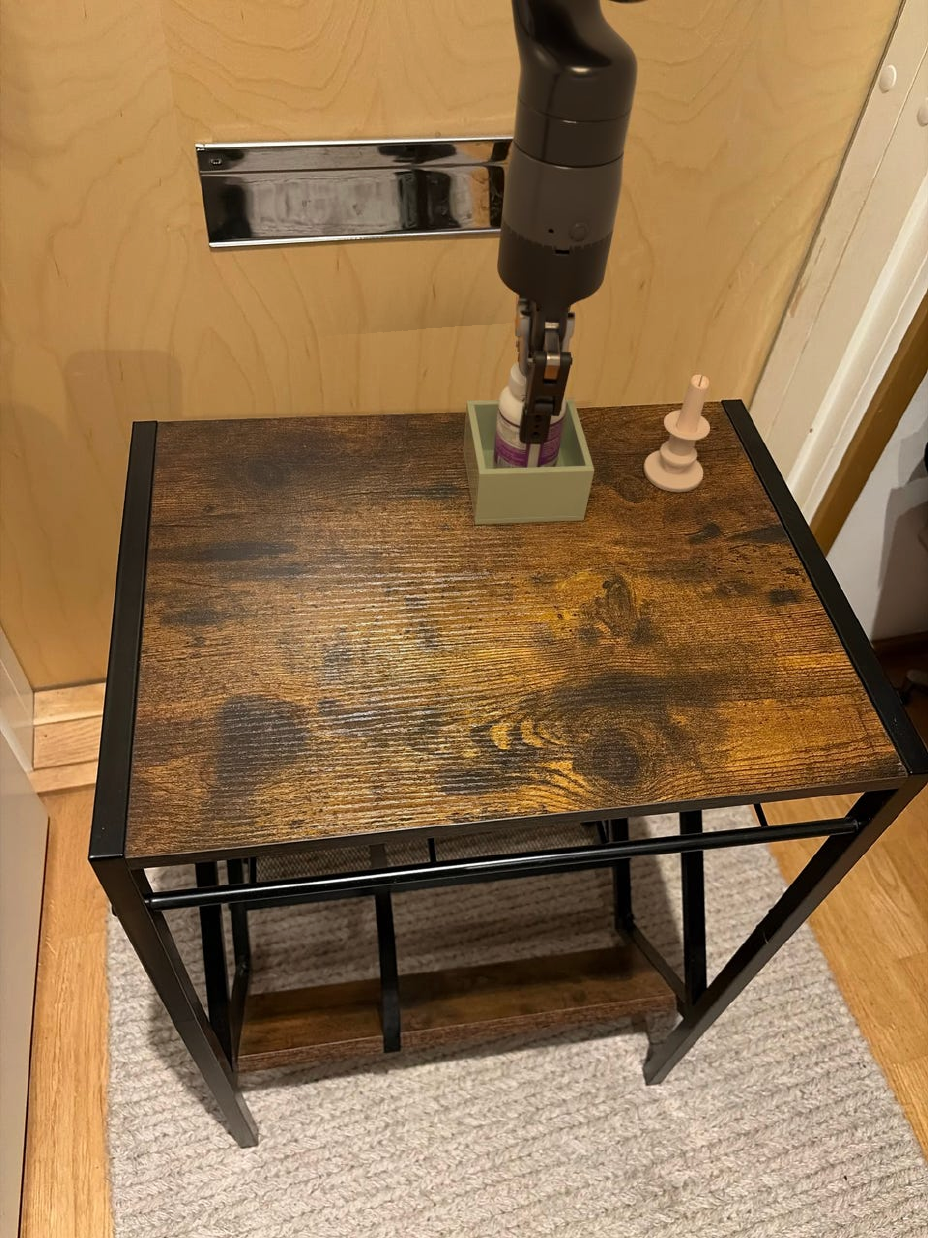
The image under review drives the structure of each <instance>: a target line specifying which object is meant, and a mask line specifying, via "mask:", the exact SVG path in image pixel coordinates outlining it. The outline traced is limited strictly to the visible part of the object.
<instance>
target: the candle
mask: <svg viewBox="0 0 928 1238" xmlns="http://www.w3.org/2000/svg"><path fill="white" fill-rule="evenodd" d="M709 386H710V381H709V379H708V377H706V376H705V375H703V374H695V375H692V377H691V379H690V382H689V384H688V387H687V391H686V393H685V396H684V399H683V403H682V405H681V409H679V410H674V411H671V412H669V413H668V414H666V416H665V417H664V419H663V425H664V428H665V429H666V431H667V432H668V433H669V437H668V440H667V441H665V442H663V443H662V444H661V446H660V449H659V450H656V451H653V452H652V453H650V454H649V455H648V456H647V457H646V458H645V460H644V463H643V468H642V469H643V474H644V475H645V477H646V479H647V480H648V481H649V482H650V484H652V485H654V486H655V487H656V488H658V489H661V490H663V491H666V492H670V493H685V492H689V491H692V490H693V491H694V490H695V489H696V488H697V487H699V486H700V484H701V483H702V481H703V477H704V469H703V466H702V465H701V463H700V462H699V460H697V458H698V451H697V449H696V447H695V446H696V443H697V442H696V441H699V440H702V439H704V438H706V437H708V435H709V434H710V430H711V427H710V423H709V421H708V420H707V419H706V418H705V417H704V416H703V415H702V412H703V408H704V405H705V401H706V398H707V393H708V389H709Z"/></svg>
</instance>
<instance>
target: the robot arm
mask: <svg viewBox="0 0 928 1238" xmlns="http://www.w3.org/2000/svg"><path fill="white" fill-rule="evenodd" d="M608 1H609V2H612V3H616V4H623V5H635V4H641V3H645V2H647V1H648V0H608ZM510 3H511V11H512V21H513V30H514V36H515V41H516V46H517V53H518V59H519V76H518V77H519V78H518V85H517V97H516V107H515V118H514V127H513V128H514V129H513V137H512V142H511V143H512V144H511V149H510V153H509V157H508V162H507V167H506V170H505V171H506V172H505V178H504V189H503V200H502V210H501V221H500V232H499V242H498V251H497V252H498V253H497V264H496V266H497V267H496V268H497V274H498V277H499V279H500V280H501V282H502V283H503V284H504V286H506V287H507V289H509V290H510V291H512V292H513V293H515V294H516V296H515V318H514V335H515V337H516V338H517V340H516V341H515V348H516V351H517V352H518V353H517V354H518V355H517V362H518V361H519V370H520V373H521V374H522V375H523V376H524V390H523V395H522V397H521V401H522V402H523V406H522V413H521V421H520V429H519V440H520V442H521V443H523V444H544V443H546V442H547V440H548V434H549V428H550V422H551V416H559V415H560V411H561V410H562V402H563V397H564V398H565V393H566V389H567V383H568V380H569V376H570V371H571V367H572V366H573V360H574V359H573V357H572V352H571V351H570V342H571V341H570V340H571V339H572V338H573V337H574V334H575V325H576V312H575V311H571V308H572V305H574V304H576V303H578V302H580V301H583V300H585V299H589V297H592V296H593V295H594V294H596V293H597V292H598V290H600V288H601V287H602V285H603V284H604V280H605V276H606V270H607V267H608V266H607V265H608V260H609V256H610V250H611V244H612V241H613V234H614V228H615V223H616V218H617V213H618V207H619V203H620V198H621V197H620V196H621V191H622V185H623V170H624V169H623V167H624V154H625V149H626V143H627V139H628V134H629V128H630V123H631V117H632V111H633V105H634V100H635V95H636V89H637V82H638V59H637V55H636V52H635V51H634V49H633V48H632V47H631V45H629V43H628V42H626V40H625V39H624V38H623V37H622V36H621V35H620V34H619V33H618V32H617V31H616V30H615V29H614V27H612V26H611V24H610V23H609V22H608V21H607V19H606V18H605V15H604V13H603V10H602V6H601V5H602V4H601V0H510ZM528 358H532V362H529V361H528Z"/></svg>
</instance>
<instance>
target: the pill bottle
mask: <svg viewBox="0 0 928 1238" xmlns="http://www.w3.org/2000/svg"><path fill="white" fill-rule="evenodd" d="M528 361H529V362H532V358H528ZM523 390H524V376H523V375H522V374H521V373H520V370H519V361H518V360H517V361H516V362H515V363H514V364H512V366H511V369H510V373H509V378H508V384H507V385H506V386H505V387H504V388H503V389H502V391H501V393H500V395H499V398H498V400H499V402H498V413H497V423H496V434H495V444H494V455H493V465H494V469H499V468H531V467H556V465H557V459H558V453H559V448H560V442H561V435H562V429H563V423H564V416H565V411H566V402H565V396H564V397H563V402H562V410H561V411H560V415H559V416H551V422H550V428H549V434H548V440H547V442H546V443H544V444H523V443H521V442H520V440H519V429H520V421H521V413H522V406H523V402H522V401H521V397H522V395H523Z"/></svg>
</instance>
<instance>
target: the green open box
mask: <svg viewBox="0 0 928 1238" xmlns="http://www.w3.org/2000/svg"><path fill="white" fill-rule="evenodd" d="M564 398H565V397H564ZM498 402H499V399H477V400H476V399H475V400H471V399H470V400H466V403H465V417H464V430H463V444H462V445H463V446H462V455H463V461H464V467H465V473H466V479H467V484H468V490H469V497H470V502H471V504H470V505H471V509H472V515H473V521H474V526H475V525H476V526H477V525H478V526H479V525H500V524H501V525H502V524H504V525H505V524H527V523H531V524H532V523H553V522H555V523H556V522H579V521H581V522H583V521H584V520H585V515H586V511H587V506H588V501H589V497H590V494H591V493H590V492H591V489H592V483H593V479H594V474H595V468H594V464H593V461H592V457H591V454H590V450H589V447H588V444H587V440H586V437H585V433H584V430H583V427H582V423H581V419H580V416H579V413H578V409H577V406H576V403H575V399H574V398H573V397H566V398H565V402H566V411H565V416H564V423H563V429H562V435H561V442H560V448H559V453H558V459H557V465H556V467H531V468H499V469H494V465H493V455H494V444H495V434H496V423H497V413H498Z"/></svg>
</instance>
